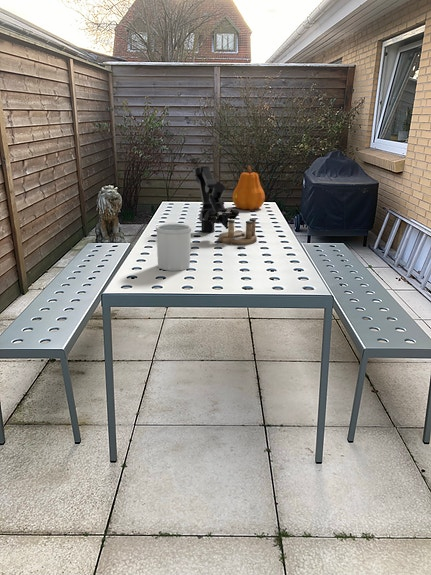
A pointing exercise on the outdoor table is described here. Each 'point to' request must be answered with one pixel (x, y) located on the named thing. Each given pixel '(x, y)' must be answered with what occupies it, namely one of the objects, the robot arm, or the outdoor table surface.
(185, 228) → the utensil holder
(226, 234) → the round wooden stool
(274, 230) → the outdoor table surface
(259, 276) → the outdoor table surface
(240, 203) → the decorative pumpkin
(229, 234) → the hinged leg
